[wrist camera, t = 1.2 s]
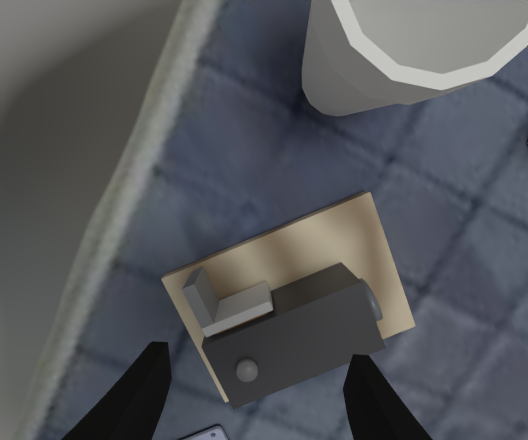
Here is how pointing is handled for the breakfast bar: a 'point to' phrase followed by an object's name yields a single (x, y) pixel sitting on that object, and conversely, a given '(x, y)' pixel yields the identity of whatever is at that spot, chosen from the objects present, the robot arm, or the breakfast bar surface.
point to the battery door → (224, 303)
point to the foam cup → (405, 49)
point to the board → (303, 263)
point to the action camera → (297, 335)
